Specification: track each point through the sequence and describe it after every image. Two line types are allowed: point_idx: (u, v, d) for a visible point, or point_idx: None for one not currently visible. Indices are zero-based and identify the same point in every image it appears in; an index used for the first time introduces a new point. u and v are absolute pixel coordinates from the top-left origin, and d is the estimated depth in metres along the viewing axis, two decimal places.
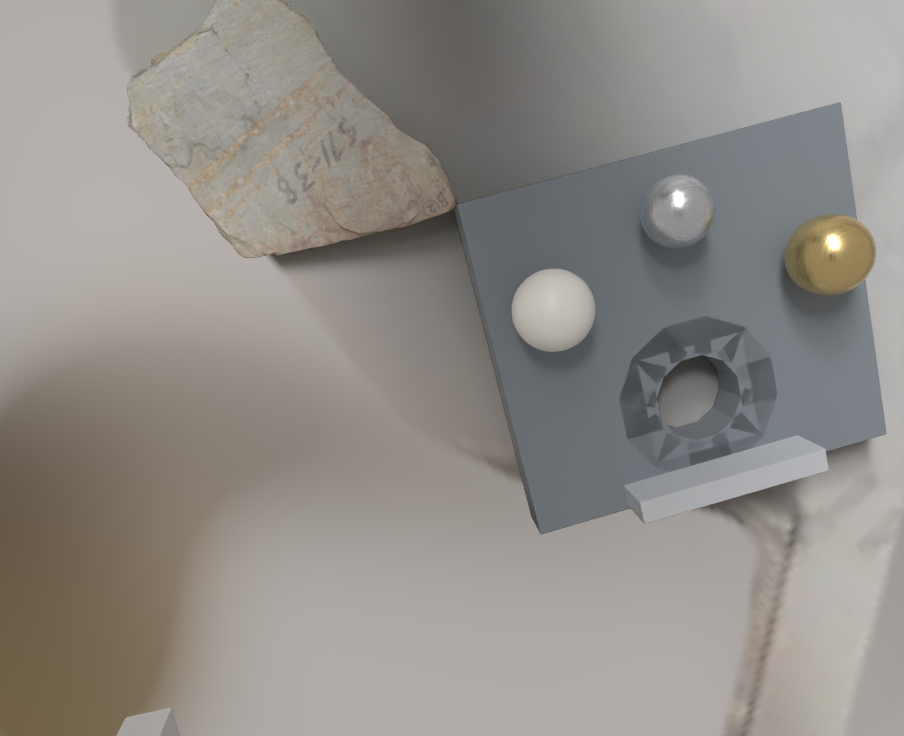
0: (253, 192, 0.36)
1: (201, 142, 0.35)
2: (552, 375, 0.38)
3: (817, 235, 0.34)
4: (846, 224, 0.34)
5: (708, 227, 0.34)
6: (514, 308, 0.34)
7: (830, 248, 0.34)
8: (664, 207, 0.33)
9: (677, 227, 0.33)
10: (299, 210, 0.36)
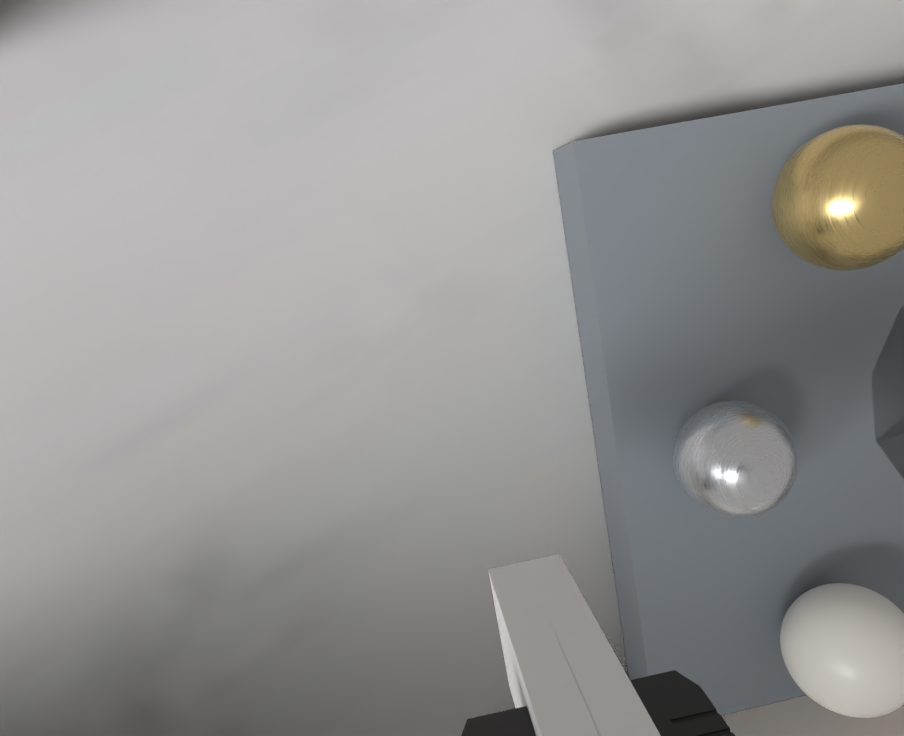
0: None
1: None
2: None
3: (831, 246, 0.19)
4: (828, 197, 0.19)
5: (784, 434, 0.21)
6: None
7: (869, 234, 0.19)
8: (745, 511, 0.21)
9: (782, 494, 0.20)
10: None
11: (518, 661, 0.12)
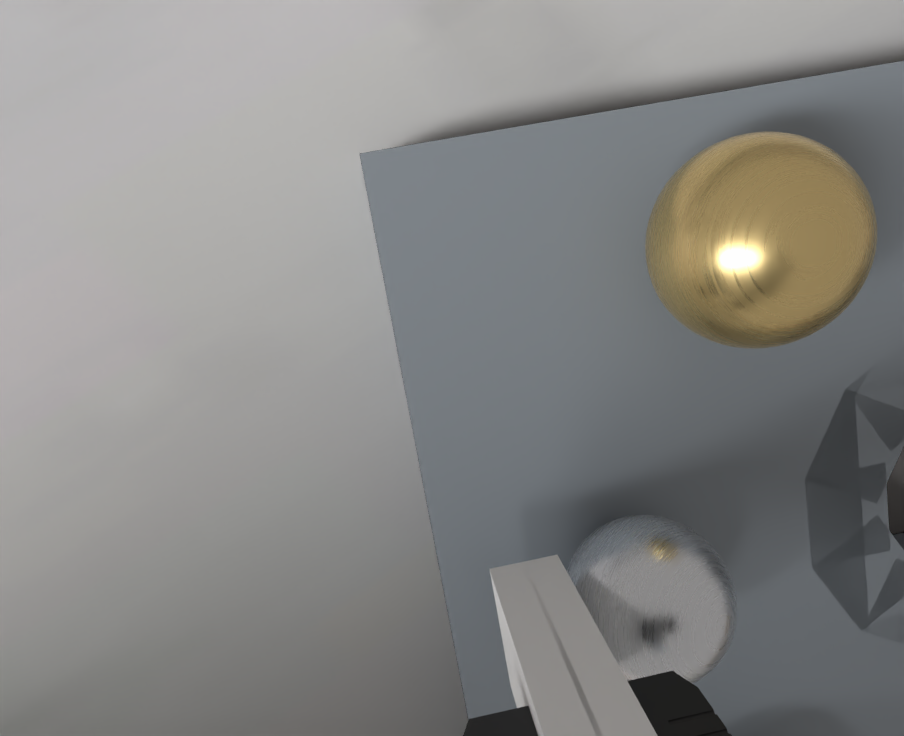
0: None
1: None
2: None
3: (719, 318, 0.13)
4: (710, 245, 0.12)
5: (717, 555, 0.15)
6: None
7: (773, 303, 0.12)
8: (695, 680, 0.14)
9: (730, 641, 0.14)
10: None
11: (520, 661, 0.12)
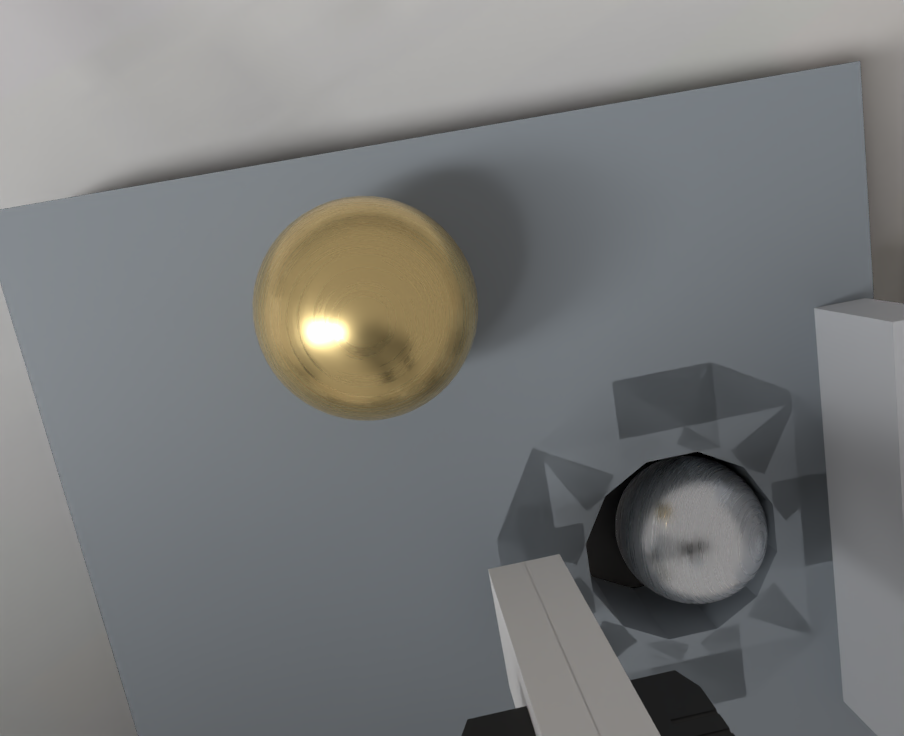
0: None
1: None
2: None
3: (302, 393, 0.12)
4: (272, 321, 0.12)
5: (748, 485, 0.17)
6: None
7: (337, 383, 0.12)
8: (737, 589, 0.17)
9: None
10: None
11: (518, 661, 0.12)
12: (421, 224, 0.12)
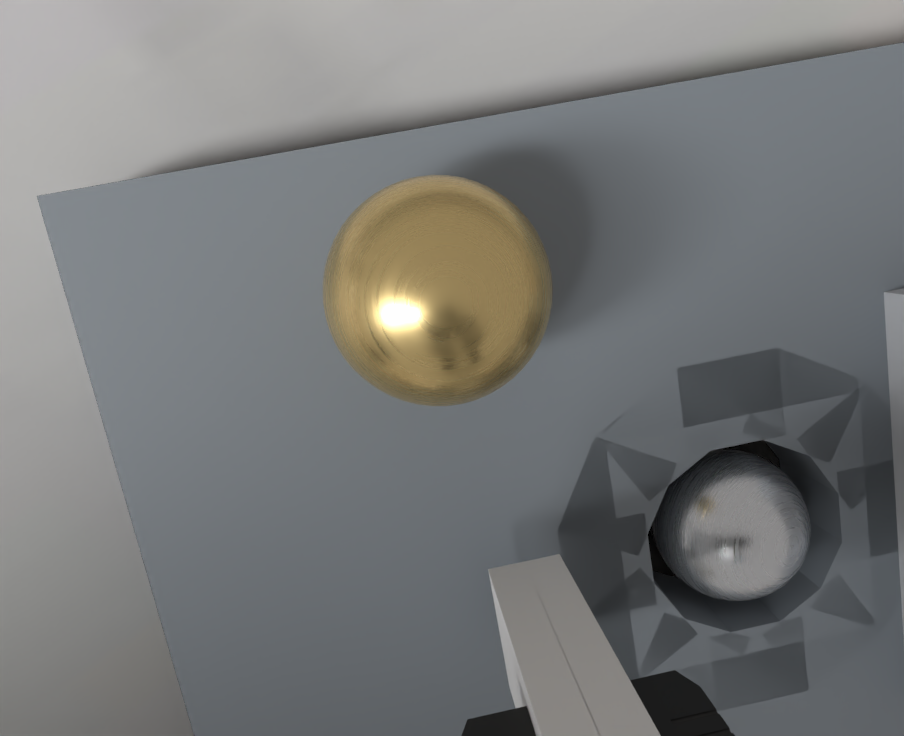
0: None
1: None
2: None
3: (376, 377, 0.12)
4: (349, 302, 0.11)
5: (795, 487, 0.16)
6: None
7: (416, 366, 0.11)
8: (765, 592, 0.16)
9: (802, 563, 0.16)
10: None
11: (518, 661, 0.12)
12: (499, 203, 0.12)
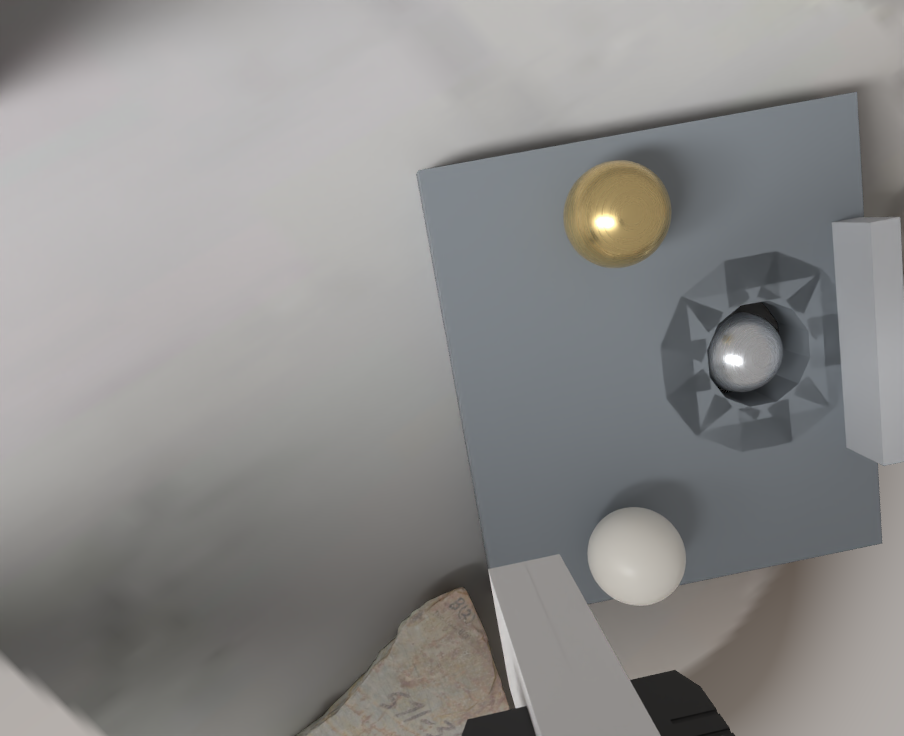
0: None
1: None
2: (700, 527, 0.33)
3: (594, 250, 0.27)
4: (587, 215, 0.26)
5: (774, 331, 0.31)
6: None
7: (616, 242, 0.26)
8: (750, 383, 0.31)
9: (773, 370, 0.31)
10: None
11: (518, 661, 0.12)
12: (651, 172, 0.26)
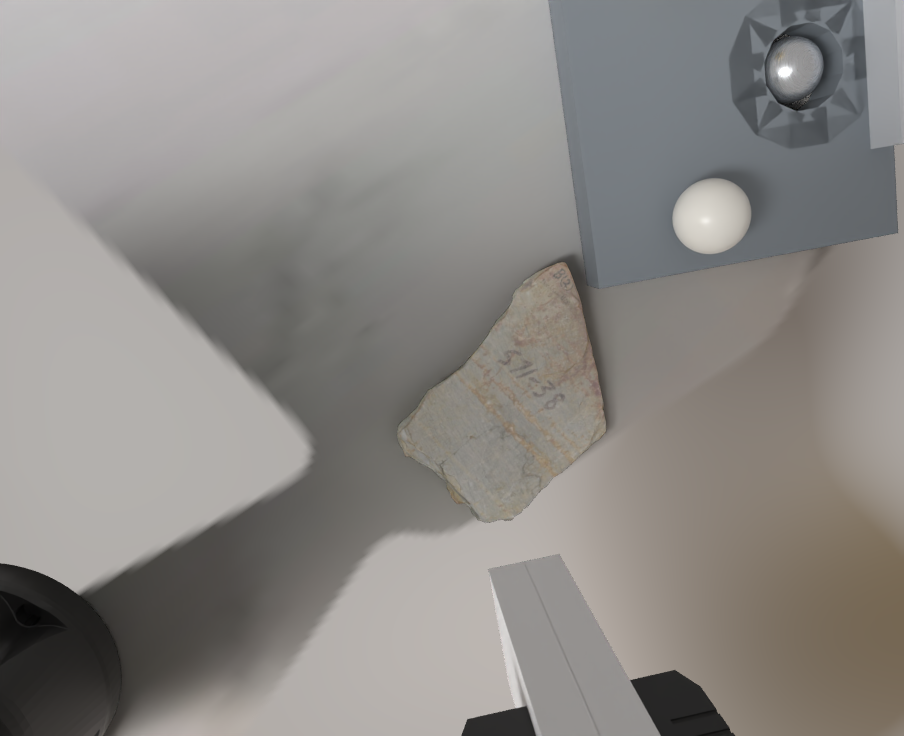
0: (556, 427, 0.44)
1: (521, 468, 0.44)
2: (757, 212, 0.41)
3: None
4: None
5: (817, 46, 0.40)
6: (706, 253, 0.39)
7: None
8: (799, 86, 0.40)
9: (817, 76, 0.40)
10: (569, 390, 0.44)
11: (518, 661, 0.12)
12: None
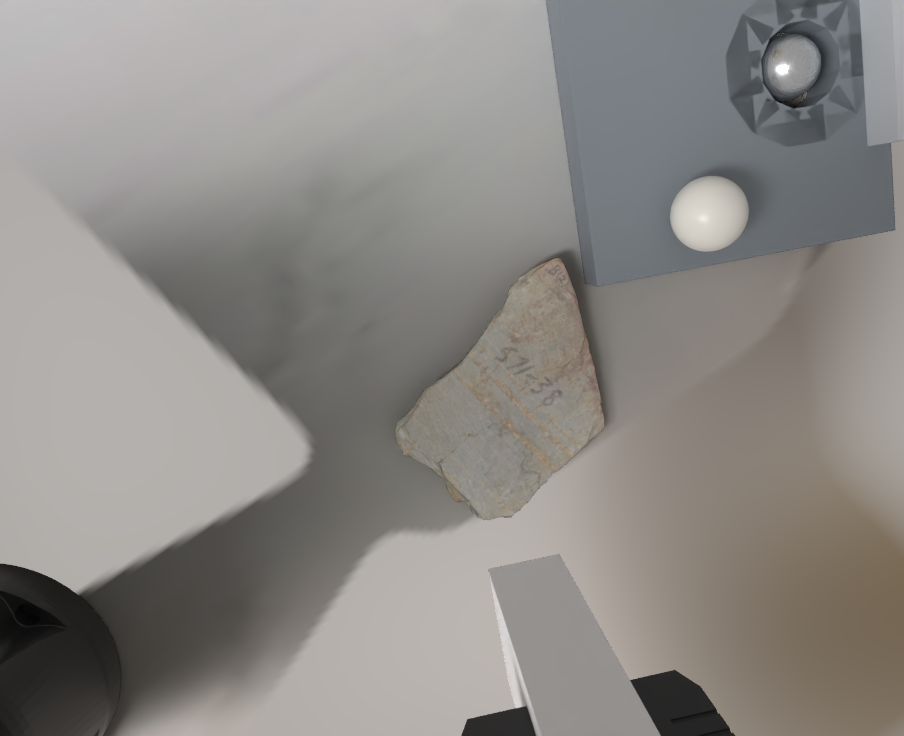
0: (554, 423, 0.44)
1: (520, 465, 0.44)
2: (754, 210, 0.41)
3: None
4: None
5: (814, 44, 0.40)
6: (704, 250, 0.39)
7: None
8: (797, 83, 0.40)
9: (815, 73, 0.40)
10: (566, 386, 0.44)
11: (518, 661, 0.12)
12: None
